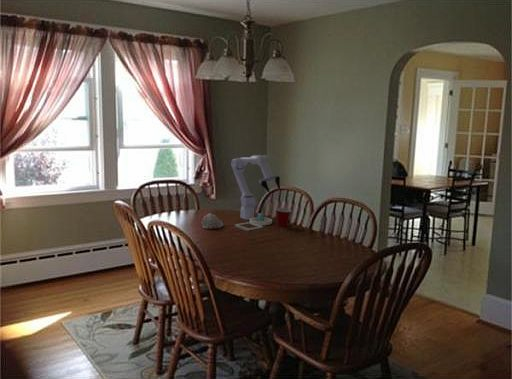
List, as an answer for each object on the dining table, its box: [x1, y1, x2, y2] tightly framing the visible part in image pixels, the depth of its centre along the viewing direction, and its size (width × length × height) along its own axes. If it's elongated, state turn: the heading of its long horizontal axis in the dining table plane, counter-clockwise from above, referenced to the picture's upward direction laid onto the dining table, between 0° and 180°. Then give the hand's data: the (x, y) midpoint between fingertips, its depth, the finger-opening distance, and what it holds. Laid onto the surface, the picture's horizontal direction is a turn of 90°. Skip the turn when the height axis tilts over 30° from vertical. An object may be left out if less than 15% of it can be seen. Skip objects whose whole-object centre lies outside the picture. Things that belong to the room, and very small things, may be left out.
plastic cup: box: [274, 207, 292, 228], centre depth 307 cm, size 11×11×12 cm
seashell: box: [201, 212, 224, 230], centre depth 302 cm, size 12×14×10 cm
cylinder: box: [257, 212, 265, 222], centre depth 314 cm, size 4×4×6 cm
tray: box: [234, 221, 264, 232], centre depth 302 cm, size 14×12×2 cm
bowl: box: [249, 216, 273, 226], centre depth 314 cm, size 15×15×3 cm
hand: (274, 190), depth 303 cm, fingers open, 7 cm apart
